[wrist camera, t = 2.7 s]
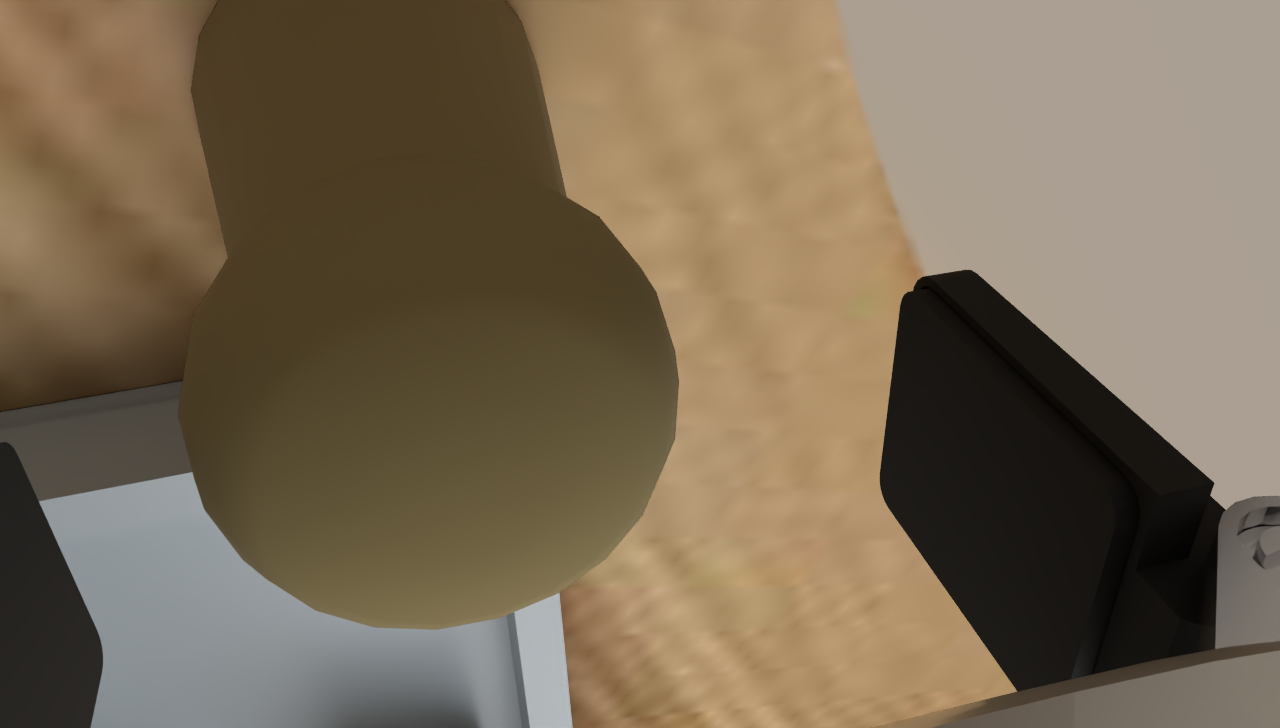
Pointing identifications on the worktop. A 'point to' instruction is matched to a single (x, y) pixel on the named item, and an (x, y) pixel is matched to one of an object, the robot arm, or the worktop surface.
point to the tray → (247, 602)
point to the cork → (411, 319)
